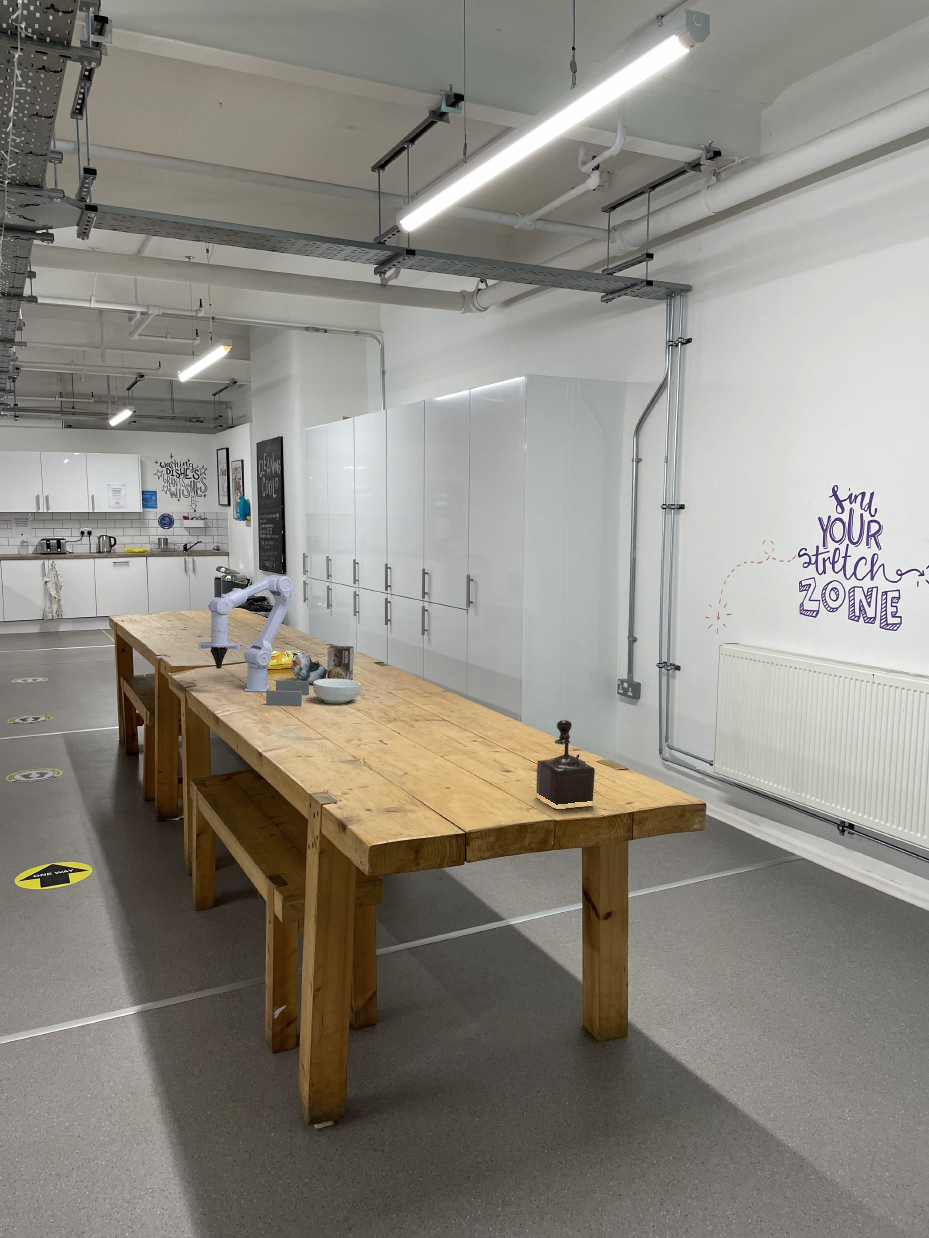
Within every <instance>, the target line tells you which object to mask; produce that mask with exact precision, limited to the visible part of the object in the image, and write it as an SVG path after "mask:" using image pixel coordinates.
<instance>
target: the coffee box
mask: <svg viewBox="0 0 929 1238" xmlns="http://www.w3.org/2000/svg"><path fill="white" fill-rule="evenodd" d="M354 648H355V647H354V646H350V645H330V646H329V647H327V665H326V666H327V668H326V669H327V674H326V678H327V679H346V680H353V681H354Z"/></svg>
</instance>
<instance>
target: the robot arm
mask: <svg viewBox="0 0 929 1238" xmlns="http://www.w3.org/2000/svg"><path fill="white" fill-rule="evenodd" d="M294 588H295V586H294V584H293V581H292V579H291V578H290V577H289V576H286V575H276V574H270V575H269V576H264V577H263V578H262V579H260V580H258V581H256V582H254V583H253V584H251V585H249V586H247V587H245V588H244V589H242V588H240V587H239V588H236V587H235V588H232V589H231V590H232V591H229V592H228V593H222V594H221V596H220V597H213V598H212V599H211V601H209V604H208V605H207V606H208V610H209V611H210V613H211V618H210V620H211V621H210V624H211V625H210V626H211V627H210V629H211V630H210V631H211V632H210V641H199V642H198V645H197V646H198V647H197V648H198V649H210V653H211V655H212V657H213V660H214V664H215V668H216V669H217V670H220V669H222V665H223V662H224V659H225V656H226V654H227V653H228V650H241V643H238V642H237V643H236V642H228V638H229V637H228V636H229V635H228V634H229V633H228V632H229V631H228V628H229V625H228V623H229V617H228V615H229V613H230V612H231V610H233V609H234V608H236V607H238V606H240V605H243V604H245V603H246V602H247V599H248V598H250V597H252V596H254V595H257V594H260V593H262V592H265V591H268V592H269V593H270V594H271V596H272V597H273V599H274V604H273V606H272V609H271V610H270V613H269V615H268V617H267V619H266V621H265V623H264V624H263V627H262V629H261V632H260V633H259V635H258V638H257V639H256V640H254V641H253V642H251V645H250V646H249V647H248V648H247V649H246V650H245V652H244V655H243V656H244V660H245V662H246V665H247V667H246V668H247V671H246V673H247V675H246V680H247V681H246V685H247V686H246V688H245V689H244V690H243V691H244V692H265V693H266V691H267V690H269V689H270V688H271V685H268V667H269V664H270V662H271V661H272V653H273V651H274V650H273V646H272V644H273V642H274V640H275V638H276V636H277V634H278V632H279V629H280V627H281V625H282V623H283V620H285V617H286V614H287V612H288V611H289V608H290V606H291V604H292V592H293V589H294Z"/></svg>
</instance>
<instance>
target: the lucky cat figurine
mask: <svg viewBox="0 0 929 1238" xmlns="http://www.w3.org/2000/svg"><path fill="white" fill-rule="evenodd" d="M292 655H293V656H292V660H291V661H290V671H291V673H292V675H294V677H296V681H309V685H313V683H314V681H316V680H319V679H327V668H326V667H325V666H324V665H323V664H321V663H320V662H319V660H318V659H316V660H315V661H312V658H311V656H310V655H309V654H305V653H304V652H300V654H298V653H297V652H293V654H292Z"/></svg>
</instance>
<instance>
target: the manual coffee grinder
mask: <svg viewBox="0 0 929 1238" xmlns="http://www.w3.org/2000/svg"><path fill="white" fill-rule="evenodd" d="M556 729H557V730H558V731H559V736H558V738H559V739H555V740H554V744H556V745H564V753H563V754H561V755H559V756H556V757H554V758H553V759H543V760H537V763H536V764H537V766H536V768H537V769H536V793H538V794H539V795H541V796H543V797H545V798H546V799H548V800H550V801H551V802H553V803H555V804H556V805H558V804H568V803H575V802H587V801H593V802H594V790H595V776H596V775H595V774H596V773H595V770H596V769H595V767H593V766H591V765H590V764H587V763H586V761H585V760H582V759H581V758H580V754H576V756H573V755H571V754H569V744H570V743H571V741H570V739H571V736H570V731H571V730H572V722H571V721H570V720H569V719H568V720H566V719H562V720H559V721H558V722H557V723H556Z"/></svg>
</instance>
